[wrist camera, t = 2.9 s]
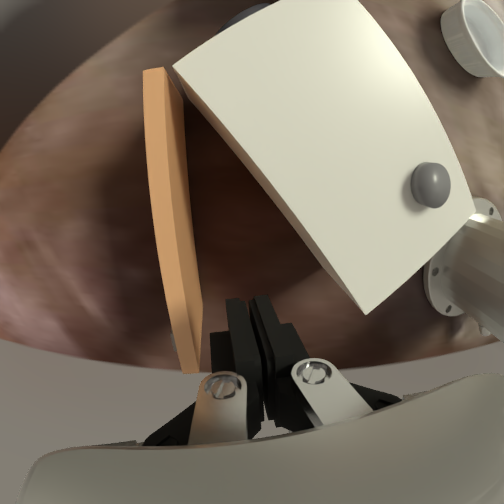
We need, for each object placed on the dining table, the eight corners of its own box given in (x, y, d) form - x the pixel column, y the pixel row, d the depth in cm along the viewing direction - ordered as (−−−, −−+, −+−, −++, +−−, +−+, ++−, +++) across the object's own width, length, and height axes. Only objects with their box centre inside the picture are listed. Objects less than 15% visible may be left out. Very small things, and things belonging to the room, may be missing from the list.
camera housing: (412, 192, 22) (484, 213, 14) (323, 267, 23) (371, 322, 15) (291, 17, 16) (328, -41, 8) (179, 88, 17) (155, 45, 9)
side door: (162, 102, 17) (131, 72, 10) (183, 99, 17) (163, 67, 10) (184, 307, 22) (174, 374, 15) (202, 306, 22) (199, 373, 15)
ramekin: (437, 60, 18) (468, 51, 14) (430, -8, 15) (455, -21, 11) (492, 94, 19) (521, 93, 15) (485, 30, 17) (510, 24, 13)
